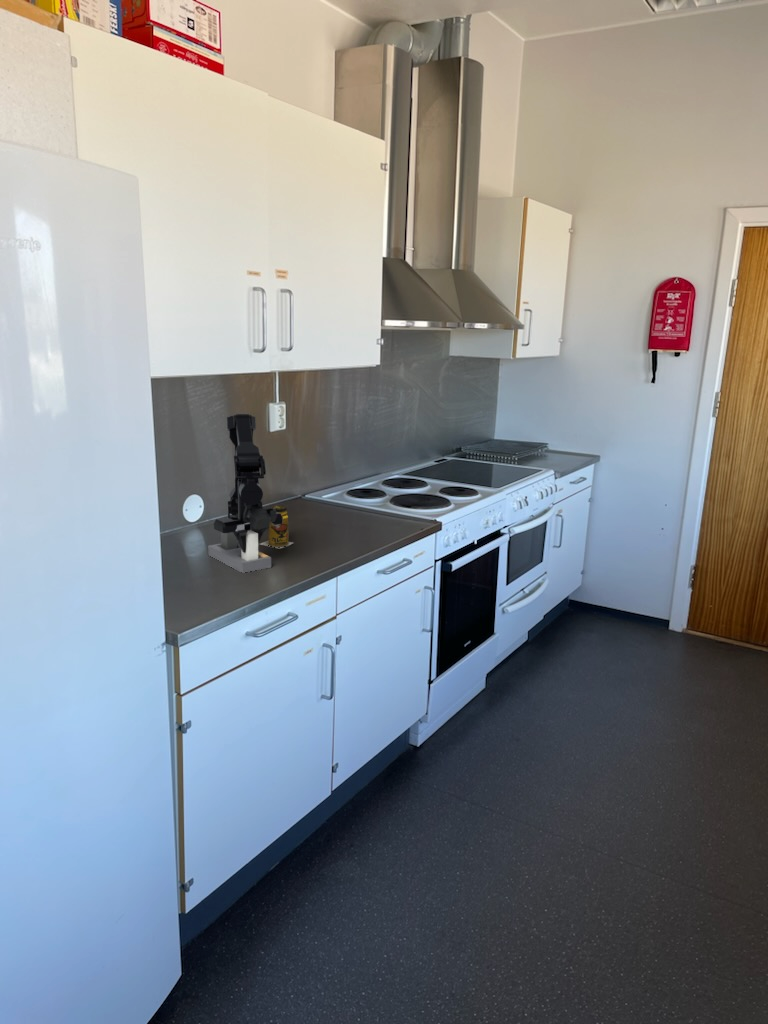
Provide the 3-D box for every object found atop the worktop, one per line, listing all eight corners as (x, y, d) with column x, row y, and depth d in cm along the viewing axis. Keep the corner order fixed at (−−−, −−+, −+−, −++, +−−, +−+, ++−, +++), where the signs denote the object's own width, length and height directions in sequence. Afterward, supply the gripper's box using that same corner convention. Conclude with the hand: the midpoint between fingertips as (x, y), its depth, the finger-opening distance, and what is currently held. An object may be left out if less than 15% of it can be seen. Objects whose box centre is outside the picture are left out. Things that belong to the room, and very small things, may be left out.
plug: (241, 559, 207) (241, 531, 206) (251, 557, 209) (250, 530, 207) (248, 562, 205) (248, 534, 203) (258, 560, 206) (257, 533, 204)
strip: (208, 555, 216) (208, 544, 216) (236, 550, 222) (235, 540, 221) (242, 573, 202) (242, 562, 201) (271, 567, 207) (271, 556, 206)
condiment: (280, 549, 225) (280, 510, 222) (258, 544, 229) (257, 506, 226) (294, 543, 231) (294, 506, 228) (272, 539, 235) (272, 502, 232)
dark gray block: (221, 555, 217) (220, 529, 215) (230, 553, 219) (229, 527, 217) (227, 558, 214) (227, 532, 212) (237, 557, 216) (236, 530, 214)
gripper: (232, 507, 191) (233, 564, 195) (293, 498, 202) (293, 552, 206) (212, 498, 199) (213, 554, 203) (272, 490, 211) (272, 543, 214)
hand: (249, 551), depth 206 cm, fingers closed on plug, 3 cm apart
